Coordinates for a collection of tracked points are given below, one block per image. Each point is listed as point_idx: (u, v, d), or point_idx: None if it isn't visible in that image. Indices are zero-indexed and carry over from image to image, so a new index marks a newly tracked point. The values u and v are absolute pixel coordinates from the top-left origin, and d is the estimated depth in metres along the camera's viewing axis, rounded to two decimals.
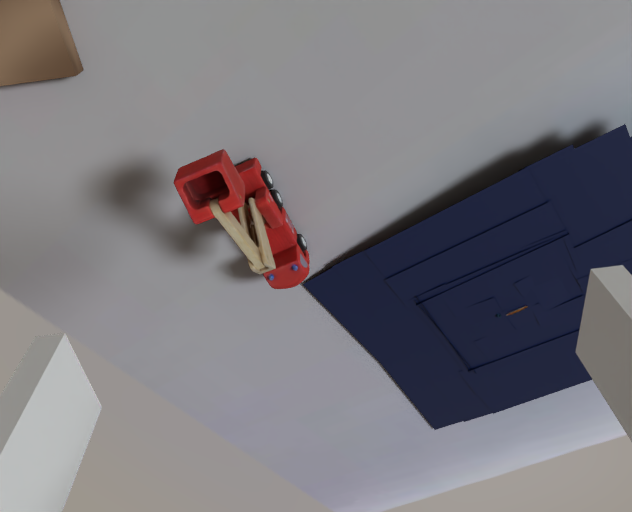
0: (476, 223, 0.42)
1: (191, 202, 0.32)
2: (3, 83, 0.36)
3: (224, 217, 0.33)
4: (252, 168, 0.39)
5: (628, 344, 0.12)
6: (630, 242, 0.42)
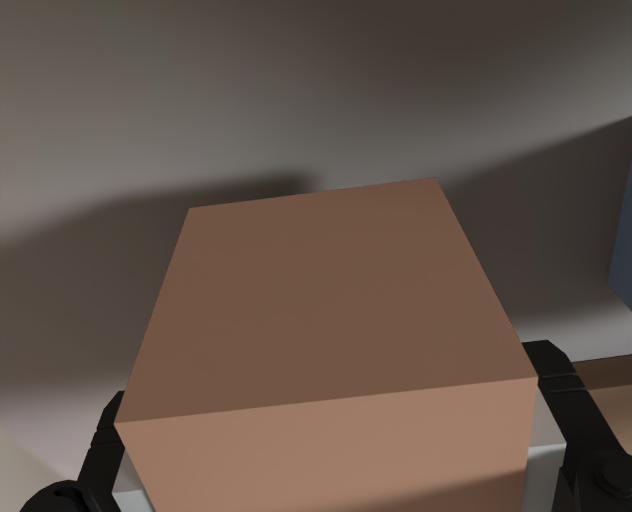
0: None
1: None
2: None
3: None
4: None
5: None
6: None
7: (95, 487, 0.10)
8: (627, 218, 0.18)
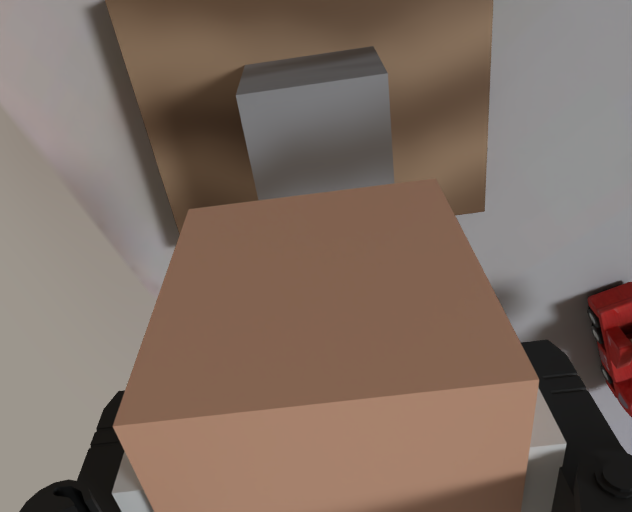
0: None
1: None
2: None
3: None
4: None
5: None
6: None
7: (95, 488, 0.10)
8: None
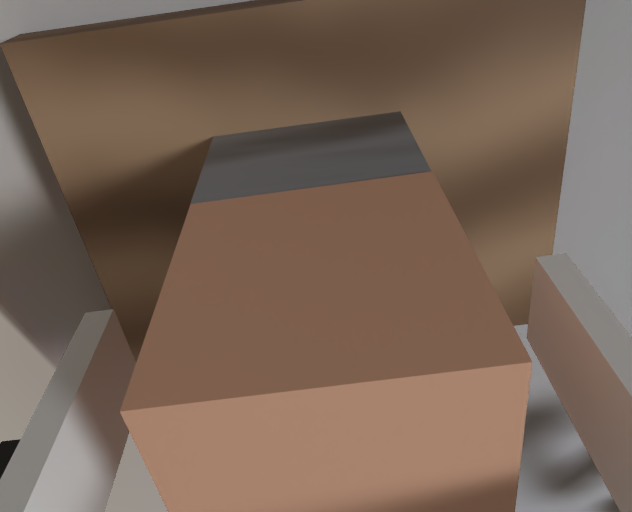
0: None
1: None
2: None
3: None
4: None
5: (565, 327, 0.12)
6: None
7: None
8: None
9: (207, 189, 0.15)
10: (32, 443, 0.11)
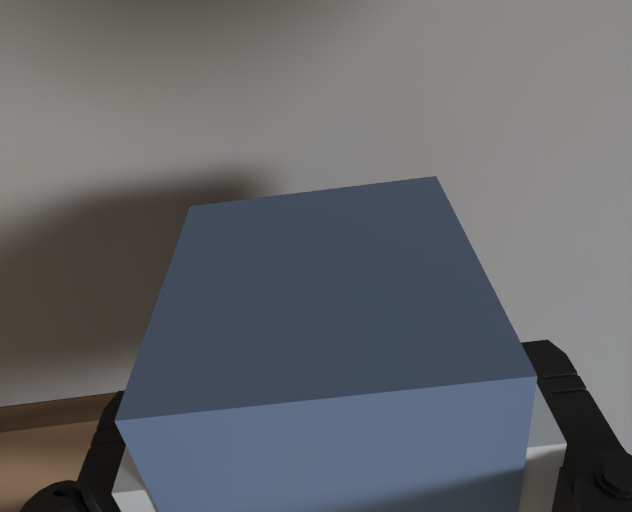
0: None
1: None
2: None
3: None
4: None
5: None
6: None
7: (94, 488, 0.10)
8: None
9: None
10: None
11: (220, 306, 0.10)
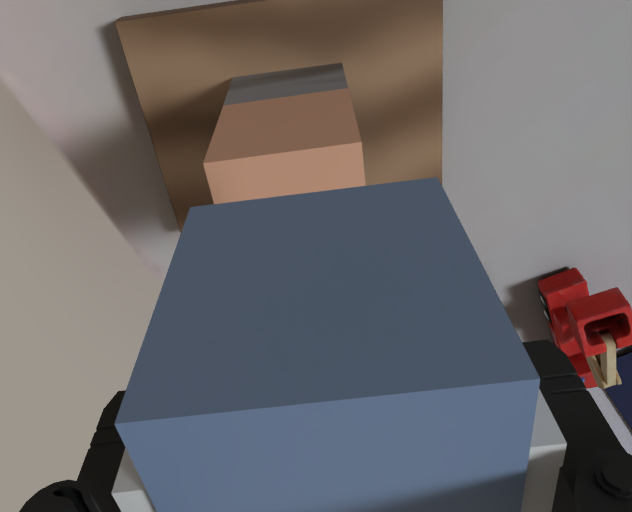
0: None
1: (585, 338, 0.34)
2: None
3: (614, 351, 0.34)
4: (584, 282, 0.40)
5: None
6: None
7: (94, 488, 0.10)
8: None
9: (231, 99, 0.28)
10: None
11: (220, 308, 0.10)
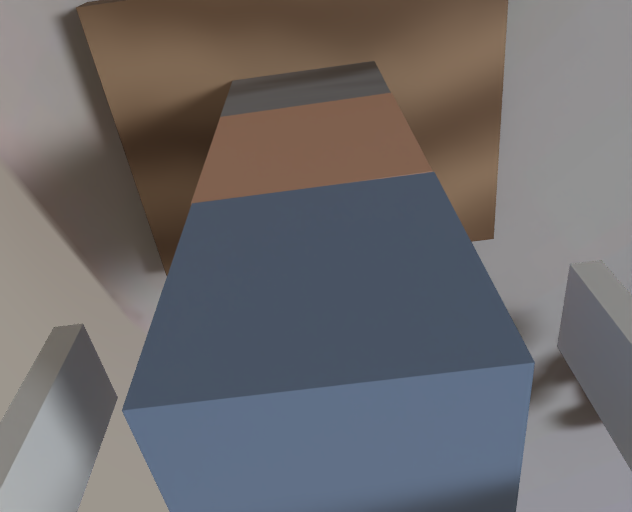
0: None
1: None
2: None
3: None
4: None
5: (605, 337, 0.12)
6: None
7: None
8: None
9: (231, 109, 0.21)
10: None
11: (223, 300, 0.11)
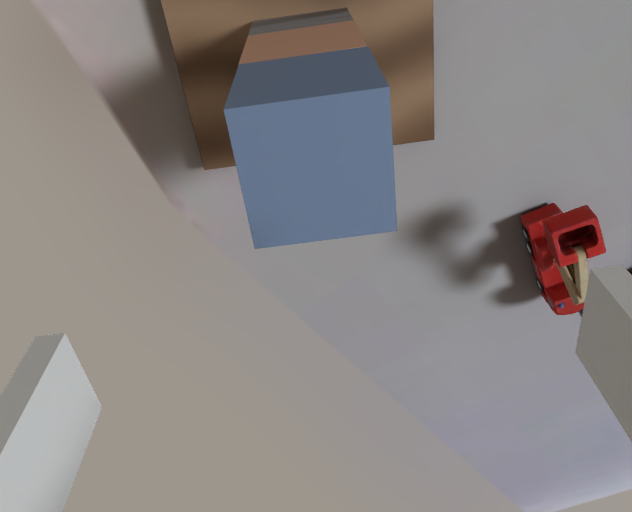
0: None
1: (559, 249, 0.39)
2: None
3: (585, 261, 0.39)
4: (561, 213, 0.45)
5: (629, 345, 0.12)
6: None
7: None
8: None
9: (254, 32, 0.33)
10: None
11: (261, 86, 0.23)
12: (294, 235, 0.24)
